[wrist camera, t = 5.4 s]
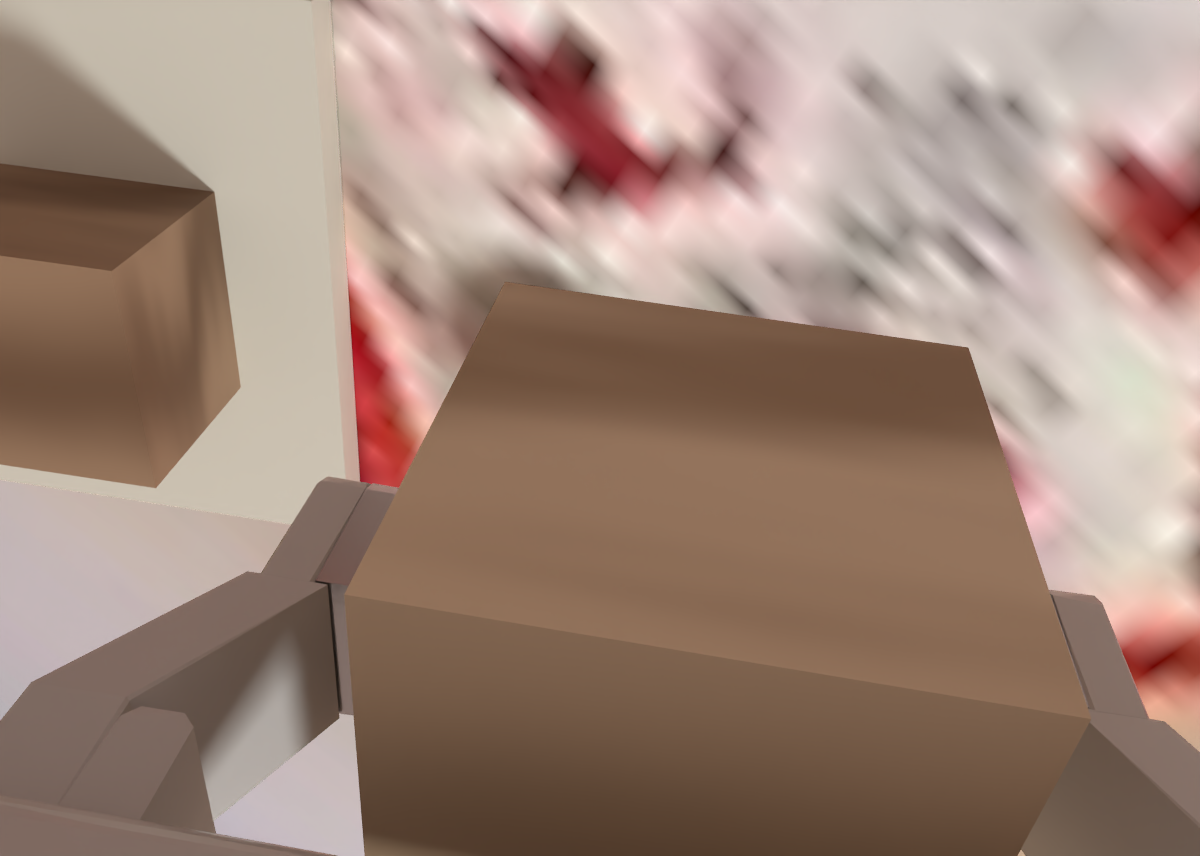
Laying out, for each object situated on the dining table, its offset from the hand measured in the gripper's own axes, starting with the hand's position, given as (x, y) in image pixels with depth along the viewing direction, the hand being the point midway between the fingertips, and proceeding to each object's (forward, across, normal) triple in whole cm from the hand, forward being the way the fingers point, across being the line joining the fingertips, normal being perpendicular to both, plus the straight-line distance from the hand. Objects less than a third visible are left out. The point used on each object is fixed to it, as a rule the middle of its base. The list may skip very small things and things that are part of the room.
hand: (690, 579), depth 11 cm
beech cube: (+2, 0, 0) cm, 2 cm away
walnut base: (+15, +16, +6) cm, 23 cm away
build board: (+17, +16, +6) cm, 24 cm away
